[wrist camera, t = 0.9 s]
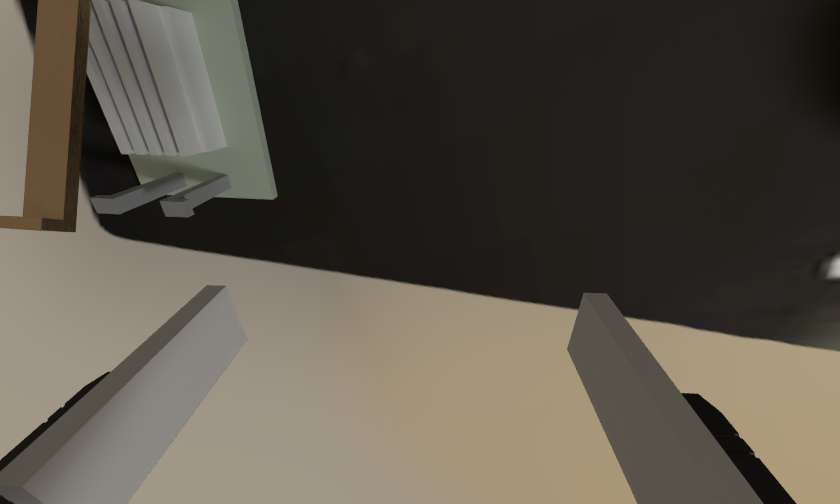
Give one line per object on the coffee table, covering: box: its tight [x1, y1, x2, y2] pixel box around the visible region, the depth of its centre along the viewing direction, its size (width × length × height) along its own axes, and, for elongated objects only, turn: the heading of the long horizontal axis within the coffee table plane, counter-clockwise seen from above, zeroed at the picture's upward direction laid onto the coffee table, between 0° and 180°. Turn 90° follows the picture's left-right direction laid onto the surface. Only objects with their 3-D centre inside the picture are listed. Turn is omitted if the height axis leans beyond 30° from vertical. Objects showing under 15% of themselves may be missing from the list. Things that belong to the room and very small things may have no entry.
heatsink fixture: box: [86, 0, 277, 217], centre depth 29 cm, size 24×16×10 cm, turn 179°
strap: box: [0, 0, 91, 232], centre depth 22 cm, size 22×3×2 cm, turn 179°
